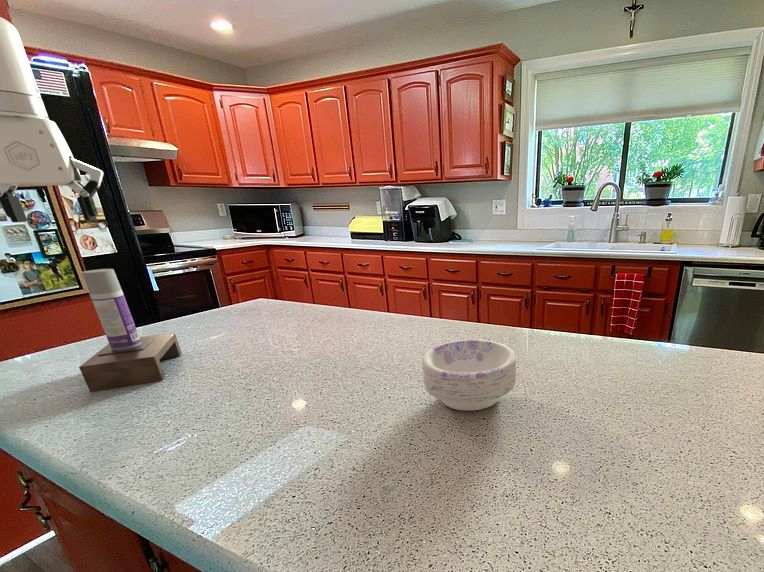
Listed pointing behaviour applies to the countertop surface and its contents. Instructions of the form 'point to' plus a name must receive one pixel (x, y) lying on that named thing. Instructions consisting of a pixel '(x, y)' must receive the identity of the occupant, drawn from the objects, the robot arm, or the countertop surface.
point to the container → (112, 308)
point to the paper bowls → (469, 373)
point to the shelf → (130, 363)
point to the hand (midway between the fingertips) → (56, 221)
